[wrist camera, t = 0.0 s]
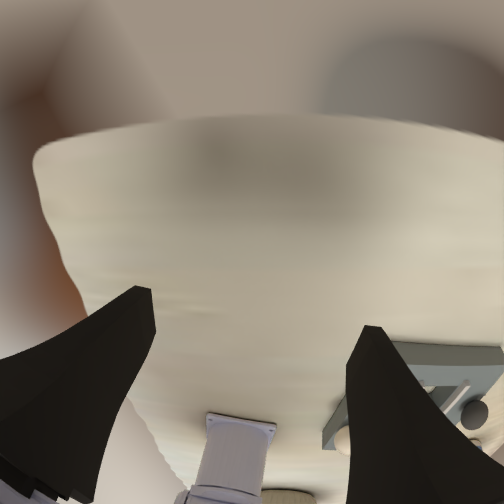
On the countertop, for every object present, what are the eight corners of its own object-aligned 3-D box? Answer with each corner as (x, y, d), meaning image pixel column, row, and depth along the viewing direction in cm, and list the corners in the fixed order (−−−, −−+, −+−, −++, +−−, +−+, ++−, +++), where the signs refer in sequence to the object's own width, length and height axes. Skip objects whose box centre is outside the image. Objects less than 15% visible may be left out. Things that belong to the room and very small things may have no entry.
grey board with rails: (429, 431, 29) (432, 451, 27) (322, 431, 30) (322, 454, 28) (500, 347, 21) (512, 369, 19) (375, 339, 22) (381, 369, 20)
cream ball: (358, 434, 26) (360, 460, 23) (329, 432, 26) (329, 459, 23) (370, 419, 24) (373, 447, 22) (339, 418, 25) (340, 447, 22)
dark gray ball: (472, 410, 23) (479, 433, 20) (452, 412, 23) (458, 437, 20) (488, 393, 21) (497, 416, 19) (468, 395, 22) (476, 420, 19)
